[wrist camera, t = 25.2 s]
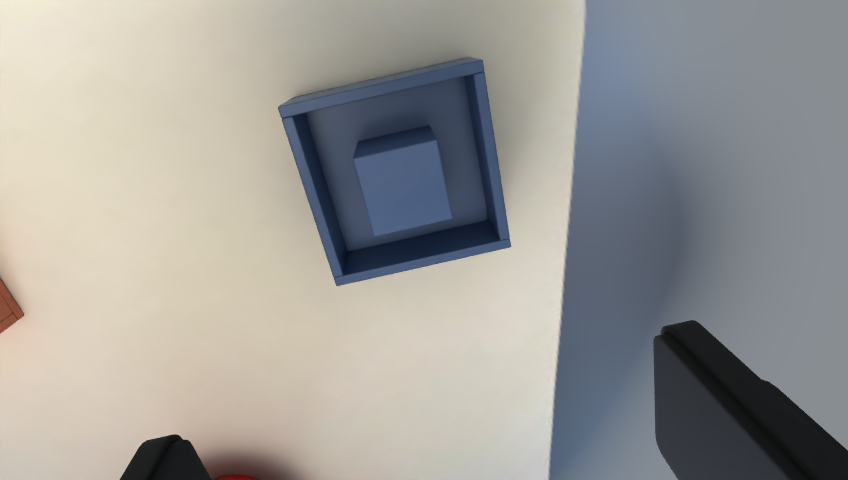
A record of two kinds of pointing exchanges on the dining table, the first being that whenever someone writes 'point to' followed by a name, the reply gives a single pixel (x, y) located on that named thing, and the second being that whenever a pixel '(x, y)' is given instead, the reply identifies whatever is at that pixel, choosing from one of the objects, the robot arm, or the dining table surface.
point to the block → (402, 180)
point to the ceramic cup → (236, 478)
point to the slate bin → (386, 114)
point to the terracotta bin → (8, 309)
